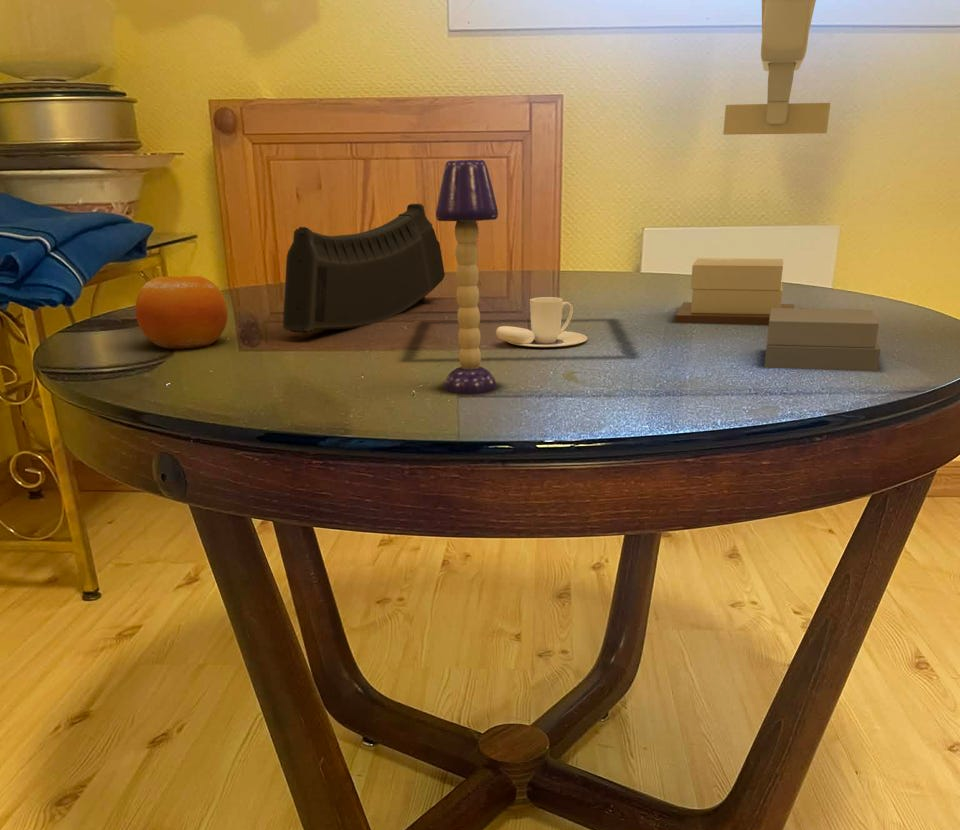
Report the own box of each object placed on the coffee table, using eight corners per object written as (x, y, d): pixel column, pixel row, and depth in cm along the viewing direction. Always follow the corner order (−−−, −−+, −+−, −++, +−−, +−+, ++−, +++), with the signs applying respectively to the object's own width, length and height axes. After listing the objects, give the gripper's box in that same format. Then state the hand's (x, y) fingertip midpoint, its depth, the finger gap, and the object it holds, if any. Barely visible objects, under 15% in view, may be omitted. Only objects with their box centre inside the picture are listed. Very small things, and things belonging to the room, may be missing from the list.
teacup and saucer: (495, 352, 94) (495, 306, 92) (497, 336, 101) (496, 294, 99) (589, 351, 94) (591, 305, 92) (584, 335, 101) (585, 292, 99)
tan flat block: (823, 132, 95) (827, 103, 94) (826, 133, 90) (830, 102, 89) (725, 134, 97) (728, 105, 96) (723, 134, 92) (725, 104, 91)
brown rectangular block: (870, 357, 89) (878, 309, 87) (876, 373, 83) (884, 323, 81) (765, 353, 91) (770, 307, 90) (764, 369, 85) (769, 321, 84)
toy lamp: (433, 387, 82) (424, 160, 75) (485, 380, 84) (481, 158, 76) (455, 399, 78) (448, 161, 71) (510, 392, 80) (509, 159, 72)
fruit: (236, 299, 104) (189, 235, 98) (248, 343, 98) (199, 278, 92) (167, 340, 105) (116, 279, 99) (175, 386, 99) (122, 324, 93)
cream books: (793, 313, 110) (799, 257, 108) (793, 327, 103) (800, 267, 100) (682, 311, 113) (686, 256, 111) (674, 324, 106) (678, 266, 103)
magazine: (288, 250, 93) (424, 140, 113) (258, 249, 95) (398, 140, 114) (331, 413, 105) (448, 288, 124) (305, 410, 106) (425, 287, 125)
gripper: (840, -80, 77) (815, 123, 83) (827, -42, 95) (808, 123, 101) (755, -75, 79) (736, 125, 85) (758, -39, 96) (743, 124, 102)
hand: (775, 124), depth 93 cm, fingers closed on tan flat block, 6 cm apart
